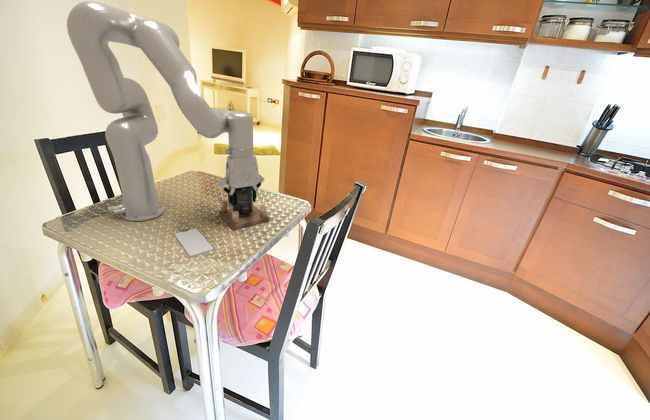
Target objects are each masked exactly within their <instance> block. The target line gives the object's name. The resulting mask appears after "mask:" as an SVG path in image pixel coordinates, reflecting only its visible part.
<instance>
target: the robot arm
mask: <svg viewBox="0 0 650 420" xmlns="http://www.w3.org/2000/svg"><path fill="white" fill-rule="evenodd" d="M66 27H67V28H66V30H67V34H68V37H69V40H70V42H71V44H72V47H73V49H74V50H75V53H76V55H77V57H78V59H79V61H80V63H81V66H82V68H83V71H84V74H85V76H86V79H87V81H88V84H89V87H90V88H91V91H92V94H93V96H94V98H95V101H96V102H97V104H98V106H99V107H100V108H101V109H102V110H103V111H104V112H106V113H108V114H113V115H114V114H122V117H119V118H116V119H115V120H112V121H111V122H110V123H109V124H108V125H107V127H106V128H105V133H104V134H105V140H106V143H107V145H108V147H109V149H110V152H111V154H112V157H113V160H114V163H115V168H116V172H117V176H118V182H119V186H120V189H121V194H122V199H123V200H122V201H121V203H118V205H109V206H107V210H108V213H113V214H114V215H116V214H120V216H121V218H122V219H123V220H126V221H129V222H143V221H149V220H153V219H155V218H158V217H160V216H162V214H163V213H164V211H165V208H164V206H163V205H162V204H160V203H158V196H157V190H156V186H155V178H154V173H153V168H152V163H151V158H150V156H149V153H148V151H147V150H146V147H145V146H146V145H149V144H150V143H152V142H153V141H156V138H157V137H158V135H159V134H158V133H159V129H158V128H159V127H158V124H157V120H156V118H155V115H154V112H153V109H152V106H151V102H150V100H149V97H148V95H147V92H146V90H145V89H144V87H142V85H141V84H140V83H138V82H137V81H136V80H134V79H132V78H127V77H124V75H123V71H122V69H121V67H120V64H119V63H120V62H119V61H118V59H117V57H116V56H115V54H114V52H113V51H112V49H111V48H110V47H109V42H112V43H115V44H117V43H118V44H122V45H123V44H124V45H128V46H131V47H134V48H138V49H140V50H141V51H142V52H143V54H144V55H145V56H146V58H147V59H148V60H149V62H151V64H152V66H154V67H155V69H156V70H157V71H158V73H159V74H160V76H161V77H162V78H163V80H164V81H165V82H166V83H167V85H168V86H169V88H170V91H171V93H172V96H173V98H174V100H175V102H176V104H177V106H178V109H179V110H180V111H181V113H182V114H183V116H184V117H185V118H186V119H187V122H189V123H190V125H191V126H192V128H193V129H194V130H196V132H197V133H199V134H200V135H201V136H203V138H207V139H215V138H218V137H220V135H223V134H225V133H227V134H228V148H227V149H224V154H225V155H228V156H227V157H226V162H225V176H224V177H223V178H222V179H221V180H220V181H219V182H218V184H217V186H218V187H219V188H221V189H222V190H223V191H224V192H225V193H227V202H229V203H230V204H231V205H232V206H235V195H234V194H233V193H234V191H235V189H237V188H243V187H250V186H252V188H253V203H256V202H257V201H256V200H257V192H258V190H259V188H260V187H261V185H262V184H263V183H264V181H265V177H263V176H262V175H260V174H259V172H260V171H259V165H258V160H257V156H256V155H255V154H254V117H253V115H252V114H251V113H250V112H246V111H238V110H236V111H235V110H234V111H231V110H227V109H225V108H220V107H219V108H217V107H216V108H215V107H214V108H211V106H210V105H209V104H208V103H207V101H206V99H205V98H204V97H203V95H202V92H201V91H200V89H199V85H198V81H197V80H198V79H197V72H196V69H195V68H194V67H193V66H192V64H191V62H190V61H189V60H188V59H187V57H186V56H185V55H184V53H183V52H182V50H181V48H180V46H181V45H180V39H179V36H178V34H177V33H176V31H175V30H174V29H173V27H171V26H170V25H168V24H166V23H164V22H160V21H158V20H155V19H151V18H146V17H143V16H139V15H137V14H134V13H131V12H129V11H125V10H122V9H120V8H117V7H113V6H111V5H108V4H106V3H102V2H98V1H93V0H92V1H89V0H88V1H87V0H86V1H81V2H79V3H77V4H76V5H74V6H73V7H72V8H71V10H70V11H69V13H68V16H67V19H66ZM226 184H227V186H228V187H226Z"/></svg>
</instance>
